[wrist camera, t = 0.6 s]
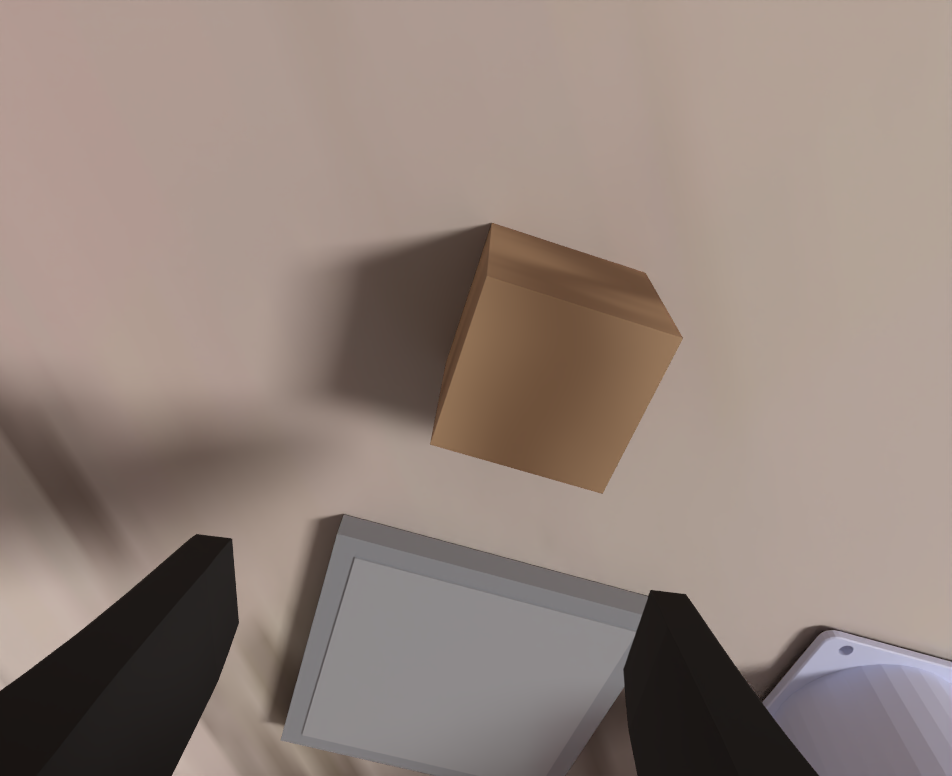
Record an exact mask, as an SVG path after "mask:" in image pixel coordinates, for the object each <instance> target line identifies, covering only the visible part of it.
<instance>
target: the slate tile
mask: <svg viewBox="0 0 952 776" xmlns="http://www.w3.org/2000/svg"><path fill="white" fill-rule="evenodd" d="M647 599H648V596H645V595H641V594H637V593H634V592H630V591H626V590H623V589H619V588H615V587H611V586H608V585H604V584H600V583H597V582H593V581H589V580H585V579H582V578H578V577H574V576H571V575H567V574H563V573H560V572H556V571H552V570H548V569H545V568H541V567H537V566H534V565H530V564H526V563H522V562H519V561H515V560H511V559H508V558H504V557H500V556H496V555H493V554H489V553H485V552H482V551H478V550H474V549H471V548H467V547H463V546H459V545H456V544H452V543H448V542H445V541H441V540H437V539H433V538H430V537H426V536H422V535H419V534H415V533H411V532H407V531H404V530H400V529H396V528H393V527H389V526H385V525H382V524H378V523H374V522H370V521H367V520H363V519H359V518H356V517H352V516H348V515H343V518H342V521H341V524H340V527H339V530H338V533H337V536H336V540H335V543H334V547H333V551H332V554H331V558H330V562H329V565H328V569H327V573H326V576H325V580H324V584H323V587H322V591H321V595H320V598H319V602H318V606H317V609H316V613H315V616H314V620H313V624H312V627H311V631H310V635H309V638H308V642H307V646H306V649H305V653H304V657H303V660H302V664H301V668H300V671H299V675H298V678H297V682H296V686H295V689H294V693H293V697H292V700H291V704H290V708H289V711H288V715H287V719H286V722H285V726H284V730H283V733H282V737H281V740H282V741H286V742H290V743H295V744H299V745H303V746H308V747H312V748H316V749H321V750H325V751H330V752H334V753H338V754H343V755H347V756H351V757H356V758H360V759H364V760H369V761H373V762H378V763H382V764H386V765H391V766H395V767H399V768H404V769H408V770H412V771H417V772H421V773H426V774H430V775H434V776H566V774H567V772H568V771H569V769H570V768H571V766H572V765H573V763H574V762H575V760H576V759H577V757H578V756H579V754H580V753H581V751H582V750H583V748H584V747H585V745H586V744H587V742H588V741H589V739H590V738H591V736H592V735H593V733H594V732H595V730H596V729H597V727H598V726H599V724H600V723H601V721H602V719H603V718H604V716H605V715H606V713H607V712H608V710H609V709H610V707H611V706H612V704H613V703H614V701H615V700H616V698H617V697H618V695H619V694H620V692H621V691H622V689H623V688H624V686H625V685H624V672H623V669H624V666H625V663H626V660H627V657H628V654H629V651H630V648H631V645H632V643H633V640H634V637H635V634H636V631H637V628H638V625H639V622H640V619H641V616H642V614H643V611H644V608H645V605H646V602H647Z"/></svg>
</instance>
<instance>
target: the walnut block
mask: <svg viewBox="0 0 952 776" xmlns="http://www.w3.org/2000/svg"><path fill="white" fill-rule="evenodd" d="M682 339H683V337H682V336H681V334H680V332H679V330H678V329H677V327H676V325H675V323H674V322H673V320H672V318H671V316H670V315H669V313H668V311H667V309H666V308H665V306H664V304H663V302H662V301H661V299H660V297H659V296H658V294H657V292H656V290H655V289H654V287H653V285H652V283H651V282H650V280H649V278H648V276H647V275H646V273H644V272H641V271H638V270H635V269H632V268H629V267H626V266H623V265H620V264H617V263H614V262H610V261H607V260H604V259H601V258H598V257H595V256H592V255H589V254H586V253H583V252H580V251H577V250H574V249H571V248H568V247H565V246H561V245H558V244H555V243H552V242H549V241H546V240H543V239H540V238H537V237H534V236H531V235H528V234H525V233H522V232H519V231H516V230H513V229H509V228H506V227H503V226H500V225H497V224H494V223H492V224H491V227H490V230H489V233H488V236H487V239H486V242H485V245H484V248H483V251H482V254H481V257H480V261H479V264H478V267H477V270H476V273H475V276H474V279H473V282H472V285H471V288H470V291H469V294H468V297H467V300H466V303H465V306H464V310H463V313H462V316H461V319H460V322H459V325H458V328H457V331H456V334H455V337H454V340H453V343H452V346H451V349H450V352H449V355H448V358H447V362H446V365H445V370H444V376H443V381H442V386H441V391H440V396H439V401H438V406H437V412H436V417H435V422H434V427H433V432H432V437H431V443H430V445H434V446H437V447H441V448H444V449H448V450H451V451H455V452H458V453H462V454H465V455H469V456H472V457H476V458H479V459H483V460H486V461H490V462H493V463H497V464H500V465H504V466H507V467H511V468H514V469H518V470H521V471H525V472H528V473H532V474H535V475H539V476H542V477H546V478H549V479H553V480H556V481H560V482H563V483H567V484H570V485H574V486H577V487H581V488H584V489H588V490H591V491H595V492H598V493H602V494H603V492H604V490H605V488H606V486H607V484H608V482H609V480H610V478H611V476H612V474H613V472H614V470H615V468H616V466H617V465H618V463H619V461H620V459H621V457H622V455H623V453H624V451H625V449H626V447H627V445H628V443H629V441H630V439H631V438H632V436H633V434H634V432H635V430H636V428H637V426H638V424H639V422H640V420H641V418H642V416H643V414H644V412H645V410H646V409H647V407H648V405H649V403H650V401H651V399H652V397H653V395H654V393H655V391H656V389H657V387H658V385H659V383H660V381H661V380H662V378H663V376H664V374H665V372H666V370H667V368H668V366H669V364H670V362H671V360H672V358H673V356H674V354H675V352H676V351H677V349H678V347H679V345H680V343H681V341H682Z"/></svg>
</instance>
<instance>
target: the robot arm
mask: <svg viewBox="0 0 952 776" xmlns="http://www.w3.org/2000/svg"><path fill="white" fill-rule="evenodd" d="M238 624H239V619H238V606H237V594H236V582H235V569H234V557H233V544H232V539H231V538H223V537H215V536H207V535H199V534H196V535H195V536H193V537H192V538H190V539H189V540H188V541H187V542H186V543H185V544H183V545H182V546H181V547H180V548H179V549H178V550H176V551H175V552H174V553H173V554H172V555H171V556H169V557H168V558H167V559H166V560H165V561H164V562H163V563H161V564H160V565H159V566H158V567H157V568H156V569H154V570H153V571H152V572H151V573H150V574H149V575H148V576H146V577H145V578H144V579H143V580H142V581H140V582H139V583H138V584H137V585H136V586H135V587H133V588H132V589H131V590H130V591H129V592H128V593H126V594H125V595H124V596H123V597H122V598H120V599H119V600H118V601H117V602H115V603H114V604H113V605H112V606H111V607H109V608H108V609H107V610H106V611H104V612H103V613H102V614H101V615H100V616H98V617H97V618H96V619H95V620H93V621H92V622H91V623H90V624H89V625H87V626H86V627H85V628H84V629H82V630H81V631H80V632H79V633H77V634H76V635H75V636H73V637H72V638H71V639H70V640H68V641H67V642H66V643H64V644H63V645H62V646H60V647H59V648H58V649H56V650H55V651H54V652H52V653H51V654H50V655H48V656H47V657H46V658H44V659H43V660H42V661H40V662H39V663H38V664H36V665H35V666H34V667H32V668H31V669H30V670H28V671H27V672H26V673H24V674H23V675H22V676H20V677H19V678H18V679H16V680H15V681H13V682H12V683H11V684H9V685H8V686H6V687H5V688H3V689H2V690H1V691H0V776H172V774H173V772H174V770H175V768H176V766H177V764H178V762H179V760H180V758H181V756H182V754H183V752H184V750H185V748H186V746H187V744H188V742H189V740H190V738H191V736H192V734H193V732H194V730H195V728H196V726H197V724H198V721H199V719H200V717H201V715H202V713H203V711H204V709H205V707H206V705H207V703H208V701H209V699H210V697H211V695H212V693H213V691H214V689H215V686H216V684H217V682H218V680H219V677H220V674H221V672H222V669H223V666H224V664H225V661H226V658H227V656H228V653H229V650H230V647H231V644H232V641H233V638H234V635H235V633H236V630H237V627H238ZM623 672H624V685H625V697H626V708H627V718H628V728H629V734H630V740H631V745H632V750H633V755H634V760H635V765H636V770H637V775H638V776H952V662H951V661H947V660H943V659H940V658H936V657H932V656H929V655H925V654H921V653H918V652H914V651H910V650H907V649H903V648H899V647H896V646H892V645H888V644H885V643H881V642H877V641H874V640H870V639H866V638H863V637H859V636H855V635H852V634H848V633H844V632H841V631H836V630H827V631H824V632H822V633H821V634H819V635H818V636H817V638H816V639H815V640H814V641H813V642H812V644H811V645H810V646H809V647H808V648H807V650H806V651H805V652H804V653H803V654H802V656H801V657H800V658H799V659H798V660H797V661H796V663H795V664H794V665H793V666H792V667H791V669H790V670H789V671H788V672H787V673H786V675H785V676H784V677H783V678H782V679H781V681H780V682H779V683H778V684H777V685H776V687H775V688H774V689H773V690H772V691H771V693H770V694H769V695H768V696H767V697H766V698H765V700H764V701H763V702H761V701H760V699H759V698H758V696H757V695H756V694H755V692H754V691H753V690H752V688H751V687H750V686H749V684H748V683H747V682H746V680H745V679H744V677H743V676H742V675H741V673H740V672H739V670H738V669H737V667H736V666H735V665H734V663H733V662H732V660H731V659H730V657H729V656H728V655H727V653H726V652H725V650H724V649H723V647H722V646H721V645H720V643H719V642H718V640H717V639H716V637H715V636H714V634H713V633H712V631H711V630H710V628H709V627H708V626H707V624H706V623H705V621H704V620H703V618H702V617H701V615H700V614H699V612H698V611H697V609H696V608H695V607H694V605H693V604H692V602H691V601H690V599H689V598H688V597H687V595H686V594H679V593H671V592H663V591H655V590H650V593H649V596H648V599H647V602H646V605H645V608H644V611H643V614H642V616H641V619H640V622H639V625H638V628H637V631H636V634H635V637H634V640H633V643H632V645H631V648H630V651H629V654H628V657H627V660H626V663H625V666H624V669H623Z"/></svg>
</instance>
